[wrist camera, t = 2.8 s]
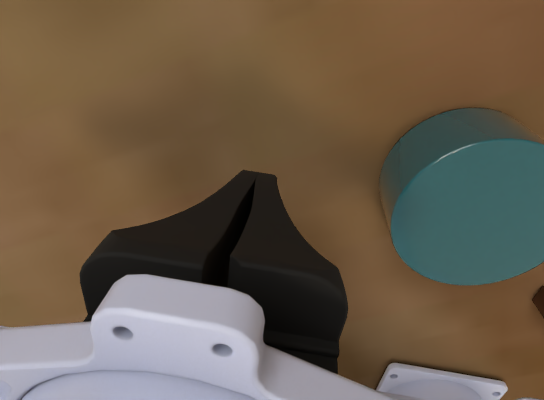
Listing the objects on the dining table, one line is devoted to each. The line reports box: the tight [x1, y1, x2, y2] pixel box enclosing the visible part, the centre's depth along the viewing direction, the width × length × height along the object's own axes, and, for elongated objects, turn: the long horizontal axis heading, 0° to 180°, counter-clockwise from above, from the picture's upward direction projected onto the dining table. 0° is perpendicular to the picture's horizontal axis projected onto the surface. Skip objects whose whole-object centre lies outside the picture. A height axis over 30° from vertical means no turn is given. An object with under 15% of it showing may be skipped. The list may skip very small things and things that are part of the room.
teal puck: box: [379, 108, 544, 285], centre depth 16 cm, size 7×7×4 cm
